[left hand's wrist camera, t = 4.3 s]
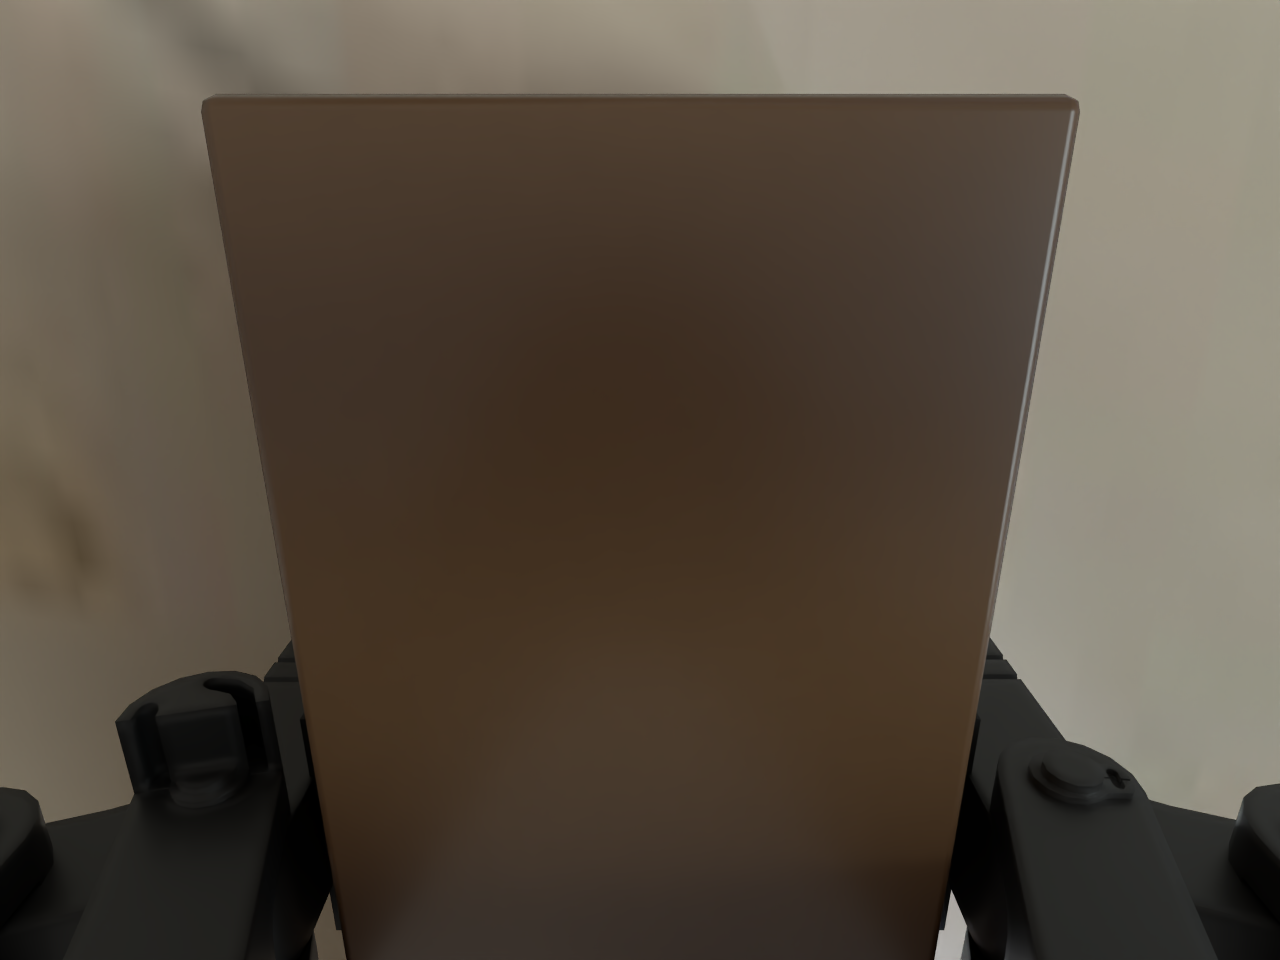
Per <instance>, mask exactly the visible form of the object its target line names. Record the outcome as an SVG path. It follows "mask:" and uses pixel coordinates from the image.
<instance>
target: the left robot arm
mask: <svg viewBox="0 0 1280 960" xmlns="http://www.w3.org/2000/svg"><path fill="white" fill-rule="evenodd" d="M115 723H116V727H117V731H118V735H119V738H120V742H121V746H122V749H123V753H124V757H125V760H126V764H127V768H128V772H129V775H130V779H131V783H132V786H133V790H134V796H133V799H132V801H131V803H130V804H128V805H124V806H121V807H117V808H114V809H110V810H105V811H101V812H96V813H92V814H87V815H82V816H78V817H73V818H69V819H64V820H59V821H55V822H50V823H46V824H45V821H44V818H43V815H42V811H41V808H40V805H39V802H38V800H36V799H35V798H34V797H33V796H31V795H30V794H29V793H28V792H27V791H25V790H18V789H11V788H4V787H0V960H318V953H317V946H316V940H315V935H314V928H315V925H316V923H317V921H318V918H319V916H320V914H321V911H322V909H323V907H324V904H325V902H326V900H327V897H328V895H329V893H330V896H331V902H332V908H333V914H334V919H335V925H336V930H341V924H340V918H339V912H338V906H337V900H336V895H335V889H334V883H333V877H332V871H331V866H330V860H329V854H328V848H327V842H326V836H325V831H324V825H323V819H322V813H321V807H320V801H319V796H318V790H317V784H316V778H315V772H314V766H313V761H312V755H311V749H310V743H309V737H308V731H307V726H306V720H305V714H304V708H303V702H302V696H301V691H300V685H299V679H298V673H297V667H296V661H295V656H294V650H293V644H292V640H291V641H290V642H289V644H288V645H287V647H286V648H285V649H284V651H283V652H282V653H281V655H280V656H279V658H278V662H275V663H274V664H273V666H272V667H271V668H270V670H269V671H268V673H267V674H266V675H265V677H264V682H263V681H261V680H260V679H259V678H258V677H257V676H254V675H250V674H246V673H242V672H237V671H219V672H206V673H202V674H197V675H193V676H188V677H184V678H180V679H177V680H175V681H172V682H170V683H168V684H165V685H163V686H160V687H158V688H155V689H153V690H151V691H150V692H148V693H147V694H145V695H144V696H142V697H141V698H139V699H138V700H136V701H135V702H133V703H132V704H130V705H129V706H128V707H127V708H126V710H125V711H124V712H123V713H122V714H121V716H120V717H119V718H118V719H117V720H116V721H115ZM951 889H952V892H953V894H954V896H955V899H956V901H957V903H958V906H959V908H960V910H961V913H962V915H963V918H964V920H965V922H966V925H967V930H966V935H965V940H964V946H963V951H962V956H961V960H1280V784H1274V785H1267V786H1260V787H1256V788H1255V789H1253V790H1252V791H1251V792H1250V793H1249V794H1247V795H1246V796H1245V797H1244V798H1243V801H1242V804H1241V807H1240V811H1239V814H1238V817H1237V820H1233V819H1229V818H1224V817H1219V816H1215V815H1210V814H1205V813H1201V812H1196V811H1192V810H1187V809H1182V808H1178V807H1173V806H1169V805H1165V804H1162V803H1158V802H1155V801H1151V800H1149V799H1148V797H1147V795H1146V793H1145V791H1144V790H1143V789H1142V787H1141V786H1140V784H1139V783H1138V782H1137V780H1136V779H1135V777H1134V776H1133V775H1132V774H1131V773H1130V772H1128V771H1127V770H1126V769H1125V768H1123V767H1122V766H1121V765H1119V764H1118V763H1117V762H1115V761H1114V760H1113V759H1111V758H1110V757H1108V756H1106V755H1103V754H1101V753H1099V752H1097V751H1095V750H1093V749H1091V748H1089V747H1086V746H1084V745H1080V744H1077V743H1073V742H1069V741H1066V740H1065V739H1064V737H1063V736H1062V735H1061V733H1060V732H1059V731H1058V729H1057V728H1056V727H1055V725H1054V724H1053V723H1052V721H1051V720H1050V718H1049V717H1048V716H1047V714H1046V713H1045V712H1044V710H1043V709H1042V708H1041V706H1040V705H1039V704H1038V702H1037V701H1036V699H1035V698H1034V697H1033V695H1032V694H1031V693H1030V691H1029V690H1028V689H1027V687H1026V686H1025V685H1024V683H1023V682H1022V680H1021V679H1017V674H1016V672H1015V671H1014V670H1013V668H1012V667H1011V666H1010V664H1009V663H1008V661H1007V660H1003V655H1002V653H1001V652H1000V651H999V649H998V648H997V647H996V645H995V644H994V642H993V641H992V640H991V638H990V637H989V643H988V649H987V655H986V661H985V666H984V672H983V678H982V684H981V690H980V696H979V701H978V707H977V713H976V719H975V725H974V730H973V736H972V742H971V748H970V754H969V760H968V765H967V771H966V777H965V783H964V789H963V794H962V800H961V806H960V812H959V818H958V824H957V829H956V835H955V841H954V847H953V853H952V858H951V864H950V870H949V876H948V882H947V887H946V893H945V899H944V905H943V911H942V917H941V922H940V928H939V930H944V928H945V922H946V917H947V911H948V905H949V899H950V894H951Z"/></svg>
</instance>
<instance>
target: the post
mask: <svg viewBox="0 0 1280 960" xmlns="http://www.w3.org/2000/svg"><path fill="white" fill-rule="evenodd" d="M201 113H202V119H203V125H204V131H205V136H206V142H207V148H208V154H209V160H210V166H211V171H212V177H213V183H214V189H215V195H216V201H217V206H218V212H219V218H220V224H221V230H222V236H223V241H224V247H225V253H226V259H227V265H228V271H229V276H230V282H231V288H232V294H233V300H234V306H235V311H236V317H237V323H238V329H239V335H240V341H241V346H242V352H243V358H244V364H245V370H246V376H247V381H248V387H249V393H250V399H251V405H252V411H253V416H254V422H255V428H256V434H257V440H258V446H259V451H260V457H261V463H262V469H263V475H264V481H265V486H266V492H267V498H268V504H269V510H270V516H271V521H272V527H273V533H274V539H275V545H276V551H277V556H278V562H279V568H280V574H281V580H282V586H283V591H284V597H285V603H286V609H287V615H288V621H289V626H290V632H291V638H292V644H293V650H294V656H295V661H296V667H297V673H298V679H299V685H300V691H301V696H302V702H303V708H304V714H305V720H306V726H307V731H308V737H309V743H310V749H311V755H312V761H313V766H314V772H315V778H316V784H317V790H318V796H319V801H320V807H321V813H322V819H323V825H324V831H325V836H326V842H327V848H328V854H329V860H330V866H331V871H332V877H333V883H334V889H335V895H336V900H337V906H338V912H339V918H340V924H341V930H342V935H343V941H344V947H345V953H346V959H347V960H934V957H935V951H936V946H937V940H938V934H939V928H940V922H941V917H942V911H943V905H944V899H945V893H946V887H947V882H948V876H949V870H950V864H951V858H952V853H953V847H954V841H955V835H956V829H957V824H958V818H959V812H960V806H961V800H962V794H963V789H964V783H965V777H966V771H967V765H968V760H969V754H970V748H971V742H972V736H973V730H974V725H975V719H976V713H977V707H978V701H979V696H980V690H981V684H982V678H983V672H984V666H985V661H986V655H987V649H988V643H989V637H990V632H991V626H992V620H993V614H994V608H995V602H996V597H997V591H998V585H999V579H1000V573H1001V568H1002V562H1003V556H1004V550H1005V544H1006V538H1007V533H1008V527H1009V521H1010V515H1011V509H1012V504H1013V498H1014V492H1015V486H1016V480H1017V474H1018V469H1019V463H1020V457H1021V451H1022V445H1023V440H1024V434H1025V428H1026V422H1027V416H1028V410H1029V405H1030V399H1031V393H1032V387H1033V381H1034V376H1035V370H1036V364H1037V358H1038V352H1039V346H1040V341H1041V335H1042V329H1043V323H1044V317H1045V312H1046V306H1047V300H1048V294H1049V288H1050V282H1051V277H1052V271H1053V265H1054V259H1055V253H1056V248H1057V242H1058V236H1059V230H1060V224H1061V218H1062V213H1063V207H1064V201H1065V195H1066V189H1067V184H1068V178H1069V172H1070V166H1071V160H1072V154H1073V149H1074V143H1075V137H1076V131H1077V125H1078V120H1079V114H1080V110H1079V103H1078V101H1077V100H1076V99H1074V98H1072V97H1070V96H1068V95H1066V94H215V95H213V96H211V97H209V98H207V99H205V100H204V101H203V103H202V111H201Z"/></svg>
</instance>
